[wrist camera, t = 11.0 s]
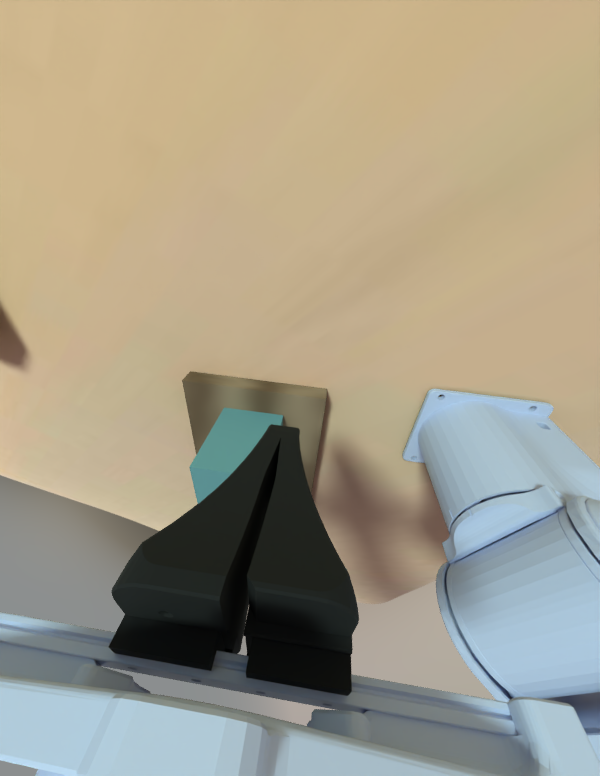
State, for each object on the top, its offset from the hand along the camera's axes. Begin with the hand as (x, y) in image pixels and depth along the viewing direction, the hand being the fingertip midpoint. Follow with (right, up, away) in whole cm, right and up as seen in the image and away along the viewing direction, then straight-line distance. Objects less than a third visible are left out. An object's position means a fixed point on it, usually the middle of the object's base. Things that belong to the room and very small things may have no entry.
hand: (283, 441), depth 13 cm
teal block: (-3, -2, +12) cm, 13 cm away
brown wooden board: (-4, -6, +17) cm, 19 cm away
